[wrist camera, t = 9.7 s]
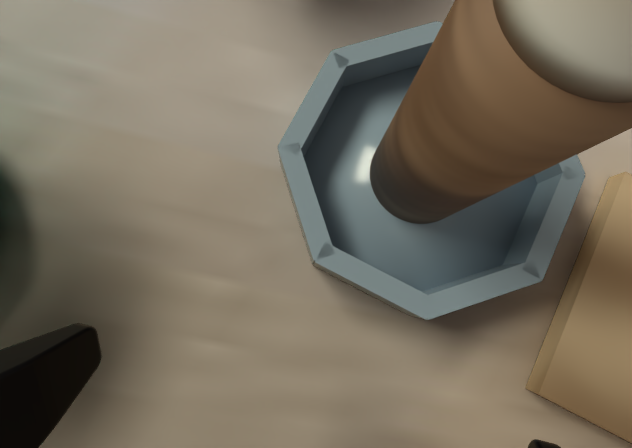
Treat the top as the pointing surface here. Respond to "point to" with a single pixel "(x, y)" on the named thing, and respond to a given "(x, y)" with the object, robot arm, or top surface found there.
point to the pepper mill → (504, 101)
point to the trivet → (595, 322)
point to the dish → (389, 231)
